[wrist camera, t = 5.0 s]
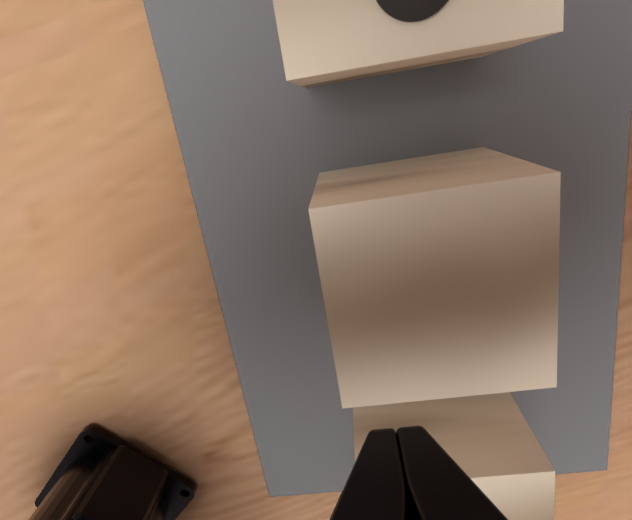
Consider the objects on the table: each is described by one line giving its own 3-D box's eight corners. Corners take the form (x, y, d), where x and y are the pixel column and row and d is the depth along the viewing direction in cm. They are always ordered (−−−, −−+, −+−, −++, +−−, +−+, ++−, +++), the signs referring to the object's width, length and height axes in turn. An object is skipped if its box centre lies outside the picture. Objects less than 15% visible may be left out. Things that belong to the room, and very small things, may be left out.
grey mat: (597, 457, 21) (607, 470, 21) (272, 484, 23) (269, 496, 22) (636, -208, 13) (653, -226, 12) (128, -92, 15) (116, -102, 14)
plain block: (489, 297, 18) (556, 387, 12) (342, 315, 19) (342, 408, 13) (483, 146, 16) (561, 171, 10) (319, 172, 17) (308, 209, 11)
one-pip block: (498, 470, 21) (559, 611, 15) (368, 481, 22) (378, 620, 16) (495, 360, 19) (562, 474, 13) (351, 375, 20) (355, 491, 14)
